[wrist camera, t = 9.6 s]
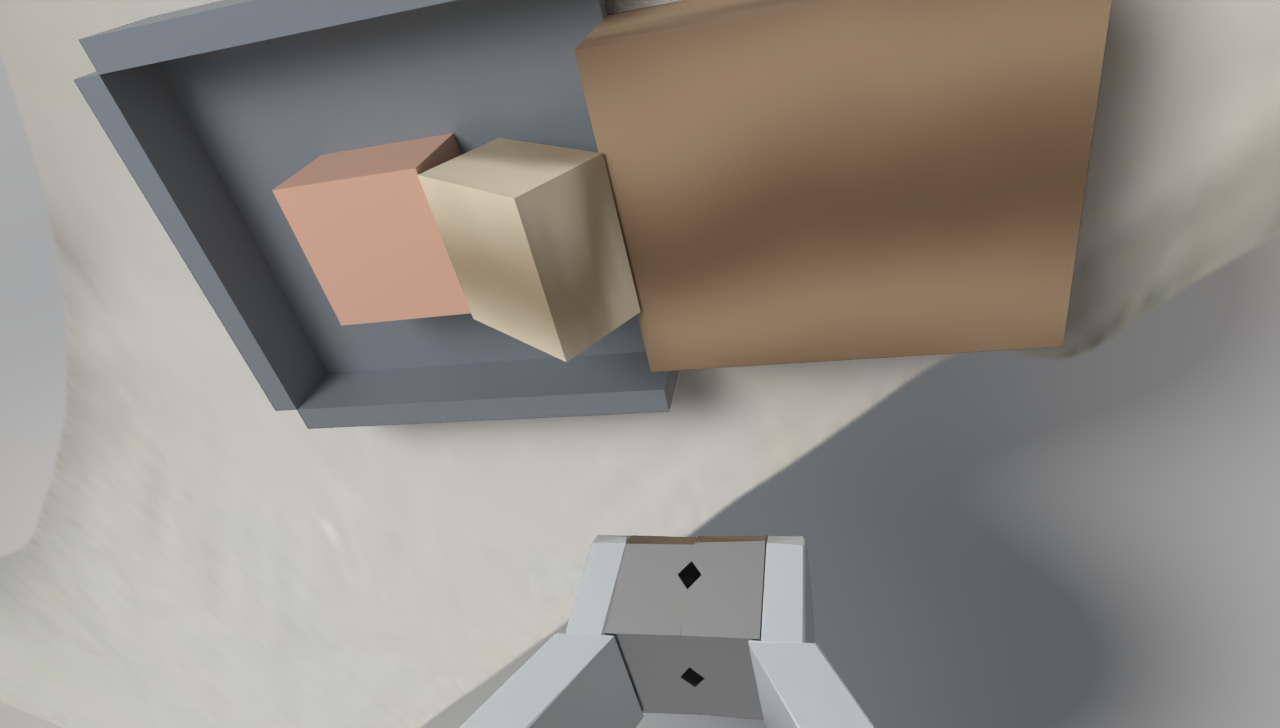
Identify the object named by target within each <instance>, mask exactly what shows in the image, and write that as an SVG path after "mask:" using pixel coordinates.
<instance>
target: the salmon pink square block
mask: <svg viewBox="0 0 1280 728" xmlns="http://www.w3.org/2000/svg"><path fill="white" fill-rule="evenodd" d="M460 155H461V153H460V150H459V147H458V144H457V142H456V139H455V136H454V133H451V134H445V135H439V136H433V137H427V138H421V139H415V140H409V141H403V142H397V143H391V144H385V145H379V146H373V147H367V148H361V149H355V150H349V151H342V152H336V153H330V154H324V155H321V156H320V157H318V158H317V159H315V160H314V161H313V162H311V163H310V164H308V165H307V166H305V167H304V168H303V169H301V170H300V171H298V172H297V173H296V174H294V175H293V176H291V177H290V178H289V179H287V180H286V181H284V182H283V183H282V184H280V185H279V186H277V187H276V188H275V189H273V190H272V191H273V193H274V195H275V197H276V199H277V201H278V203H279V205H280V207H281V209H282V211H283V213H284V215H285V217H286V218H287V220H288V222H289V224H290V226H291V228H292V230H293V232H294V234H295V236H296V238H297V240H298V242H299V244H300V246H301V248H302V250H303V252H304V254H305V256H306V257H307V259H308V261H309V263H310V265H311V267H312V269H313V271H314V273H315V275H316V277H317V279H318V281H319V283H320V285H321V287H322V289H323V291H324V293H325V295H326V296H327V298H328V300H329V302H330V304H331V306H332V308H333V310H334V312H335V314H336V316H337V318H338V320H339V322H340V324H341V326H342V325H353V324H364V323H374V322H385V321H395V320H406V319H417V318H427V317H438V316H448V315H459V314H470V313H471V311H470V309H469V306H468V304H467V301H466V299H465V296H464V293H463V291H462V288H461V286H460V283H459V281H458V278H457V275H456V273H455V270H454V268H453V265H452V263H451V260H450V257H449V255H448V252H447V250H446V247H445V245H444V242H443V239H442V237H441V234H440V232H439V229H438V227H437V224H436V221H435V219H434V216H433V214H432V211H431V209H430V206H429V203H428V201H427V198H426V196H425V193H424V191H423V188H422V185H421V183H420V180H419V178H418V174H421V173H423V172H425V171H427V170H429V169H432V168H434V167H436V166H438V165H440V164H443V163H445V162H447V161H449V160H451V159H453V158H456V157H458V156H460Z"/></svg>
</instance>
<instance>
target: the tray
mask: <svg viewBox="0 0 1280 728" xmlns="http://www.w3.org/2000/svg"><path fill="white" fill-rule="evenodd" d="M606 16H607V11H606V7H605V2H604V0H224V1H219V2H215V3H211V4H206V5H202V6H197V7H193V8H189V9H184V10H180V11H176V12H171V13H167V14H163V15H158V16H154V17H149V18H146V19H143V20H140V21H137V22H134V23H130V24H127V25H124V26H121V27H118V28H114V29H111V30H108V31H105V32H102V33H98V34H95V35H92V36H89V37H86V38H82V39H79V42H80V43H81V45H82V47H83V48H84V50H85V52H86V53H87V55H88V57H89V59H90V60H91V62H92V64H93V65H94V67H95V69H96V70H97V72H94V73H91V74H89V75H86V76H83V77H80V78H78V79H75V80H74V82H75V83H76V85H77V87H78V88H79V90H80V92H81V93H82V95H83V96H84V98H85V100H86V101H87V103H88V105H89V106H90V108H91V110H92V111H93V113H94V114H95V116H96V118H97V119H98V121H99V123H100V124H101V126H102V128H103V129H104V131H105V132H106V134H107V136H108V137H109V139H110V141H111V142H112V144H113V146H114V147H115V149H116V150H117V152H118V154H119V155H120V157H121V159H122V160H123V162H124V164H125V165H126V167H127V168H128V170H129V172H130V173H131V175H132V177H133V178H134V180H135V182H136V183H137V185H138V186H139V188H140V190H141V191H142V193H143V195H144V196H145V198H146V200H147V201H148V203H149V204H150V206H151V208H152V209H153V211H154V213H155V214H156V216H157V218H158V219H159V221H160V222H161V224H162V226H163V227H164V229H165V231H166V232H167V234H168V236H169V237H170V239H171V240H172V242H173V244H174V245H175V247H176V249H177V250H178V252H179V254H180V255H181V257H182V258H183V260H184V262H185V263H186V265H187V267H188V268H189V270H190V272H191V273H192V275H193V276H194V278H195V280H196V281H197V283H198V285H199V286H200V288H201V290H202V291H203V293H204V294H205V296H206V298H207V299H208V301H209V303H210V304H211V306H212V308H213V309H214V311H215V312H216V314H217V316H218V317H219V319H220V321H221V322H222V324H223V326H224V327H225V329H226V330H227V332H228V334H229V335H230V337H231V339H232V340H233V342H234V344H235V345H236V347H237V348H238V350H239V352H240V353H241V355H242V357H243V358H244V360H245V362H246V363H247V365H248V366H249V368H250V370H251V371H252V373H253V375H254V376H255V378H256V380H257V381H258V383H259V384H260V386H261V388H262V389H263V391H264V393H265V394H266V396H267V398H268V399H269V401H270V402H271V404H272V406H273V407H274V409H275V411H281V410H297V411H298V413H299V414H300V416H301V418H302V419H303V421H304V423H305V425H306V426H307V428H308V429H313V428H334V427H355V426H377V425H398V424H419V423H441V422H462V421H483V420H505V419H526V418H547V417H569V416H590V415H611V414H633V413H654V412H669V410H670V406H671V401H672V397H673V392H674V388H675V383H676V379H677V374H678V370H673V371H657V372H651V370H650V366H649V362H648V357H647V353H646V349H645V345H644V341H643V336H642V332H641V328H640V324H639V320H638V316H637V315H635V316H634V317H632V318H631V319H629V320H628V321H626V322H625V323H623V324H622V325H620V326H619V327H618V328H616V329H615V330H613V331H612V332H610V333H609V334H607V335H606V336H604V337H603V338H601V339H600V340H598V341H597V342H595V343H594V344H593V345H591V346H590V347H588V348H587V349H585V350H584V351H582V352H581V353H579V354H578V355H576V356H575V357H573V358H572V359H570V360H569V361H567V362H565V361H563V360H561V359H558V358H556V357H554V356H552V355H550V354H548V353H546V352H543V351H541V350H539V349H537V348H535V347H533V346H531V345H528V344H526V343H524V342H522V341H520V340H518V339H516V338H513V337H511V336H509V335H507V334H505V333H503V332H501V331H498V330H496V329H494V328H492V327H490V326H488V325H486V324H483V323H481V322H479V321H477V320H475V319H473V317H472V314H471V313H470V314H459V315H448V316H438V317H427V318H417V319H406V320H395V321H385V322H374V323H364V324H353V325H342V326H341V324H340V322H339V320H338V318H337V316H336V314H335V312H334V310H333V308H332V306H331V304H330V302H329V300H328V298H327V296H326V295H325V293H324V291H323V289H322V287H321V285H320V283H319V281H318V279H317V277H316V275H315V273H314V271H313V269H312V267H311V265H310V263H309V261H308V259H307V257H306V256H305V254H304V252H303V250H302V248H301V246H300V244H299V242H298V240H297V238H296V236H295V234H294V232H293V230H292V228H291V226H290V224H289V222H288V220H287V218H286V217H285V215H284V213H283V211H282V209H281V207H280V205H279V203H278V201H277V199H276V197H275V195H274V193H273V191H272V190H273V189H275V188H276V187H277V186H279V185H280V184H282V183H283V182H284V181H286V180H287V179H289V178H290V177H291V176H293V175H294V174H296V173H297V172H298V171H300V170H301V169H303V168H304V167H305V166H307V165H308V164H310V163H311V162H313V161H314V160H315V159H317V158H318V157H320V156H321V155H324V154H330V153H336V152H342V151H349V150H355V149H361V148H367V147H373V146H379V145H385V144H391V143H397V142H403V141H409V140H415V139H421V138H427V137H433V136H439V135H445V134H451V133H454V136H455V139H456V142H457V144H458V147H459V150H460V153H461V155H462V154H464V153H467V152H469V151H471V150H473V149H475V148H478V147H480V146H482V145H484V144H486V143H489V142H491V141H493V140H495V139H497V138H504V139H511V140H518V141H524V142H531V143H538V144H544V145H551V146H558V147H564V148H571V149H578V150H584V151H591V152H598V148H597V144H596V140H595V136H594V132H593V127H592V123H591V119H590V115H589V111H588V107H587V102H586V98H585V94H584V90H583V86H582V81H581V77H580V73H579V69H578V65H577V61H576V56H575V52H574V49H575V48H576V47H577V46H578V45H579V44H580V43H581V42H582V41H583V40H584V39H585V38H586V37H587V36H588V35H589V34H590V33H591V32H592V31H593V30H594V29H595V27H596V26H597V25H598V24H599V23H600V22H601V21H602V20H603V19H604V18H605V17H606Z"/></svg>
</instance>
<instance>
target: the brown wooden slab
mask: <svg viewBox="0 0 1280 728" xmlns="http://www.w3.org/2000/svg"><path fill="white" fill-rule="evenodd" d="M1111 2H1112V0H684V1H679V2H674V3H669V4H663V5H658V6H653V7H648V8H642V9H637V10H632V11H627V12H622V13H616V14H611V15H607V16H606V17H605V18H604V19H603V20H602V21H601V22H600V23H599V24H598V25H597V26H596V27H595V29H594V30H593V31H592V32H591V33H590V34H589V35H588V36H587V37H586V38H585V39H584V40H583V41H582V42H581V43H580V44H579V45H578V46H577V47H576V48H575V49H574V52H575V56H576V61H577V65H578V69H579V73H580V77H581V81H582V86H583V90H584V94H585V98H586V102H587V107H588V111H589V115H590V119H591V123H592V127H593V132H594V136H595V140H596V144H597V148H598V153H603V157H604V161H605V166H606V170H607V174H608V178H609V182H610V186H611V191H612V195H613V199H614V203H615V207H616V211H617V216H618V220H619V224H620V228H621V232H622V236H623V241H624V245H625V249H626V253H627V257H628V261H629V266H630V270H631V274H632V278H633V282H634V286H635V291H636V295H637V299H638V303H639V307H640V311H641V312H640V313H638V314H637V316H638V320H639V324H640V328H641V332H642V336H643V341H644V345H645V349H646V353H647V357H648V362H649V366H650V370H651V372H657V371H673V370H690V369H706V368H722V367H738V366H755V365H771V364H787V363H804V362H820V361H836V360H852V359H869V358H885V357H901V356H917V355H934V354H950V353H966V352H983V351H999V350H1015V349H1031V348H1048V347H1063V342H1064V334H1065V327H1066V320H1067V313H1068V306H1069V299H1070V292H1071V285H1072V278H1073V271H1074V264H1075V257H1076V249H1077V242H1078V235H1079V228H1080V221H1081V214H1082V207H1083V200H1084V193H1085V186H1086V179H1087V172H1088V165H1089V157H1090V150H1091V143H1092V136H1093V129H1094V122H1095V115H1096V108H1097V101H1098V94H1099V87H1100V80H1101V73H1102V65H1103V58H1104V51H1105V44H1106V37H1107V30H1108V23H1109V16H1110V9H1111Z"/></svg>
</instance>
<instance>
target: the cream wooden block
mask: <svg viewBox="0 0 1280 728" xmlns="http://www.w3.org/2000/svg"><path fill="white" fill-rule="evenodd" d="M418 178H419V180H420V183H421V185H422V188H423V191H424V193H425V196H426V198H427V201H428V203H429V206H430V209H431V211H432V214H433V216H434V219H435V221H436V224H437V227H438V229H439V232H440V234H441V237H442V239H443V242H444V245H445V247H446V250H447V252H448V255H449V257H450V260H451V263H452V265H453V268H454V270H455V273H456V275H457V278H458V281H459V283H460V286H461V288H462V291H463V293H464V296H465V299H466V301H467V304H468V306H469V309H470V311H471V314H472V317H473V319H475V320H477V321H479V322H481V323H483V324H486V325H488V326H490V327H492V328H494V329H496V330H498V331H501V332H503V333H505V334H507V335H509V336H511V337H513V338H516V339H518V340H520V341H522V342H524V343H526V344H528V345H531V346H533V347H535V348H537V349H539V350H541V351H543V352H546V353H548V354H550V355H552V356H554V357H556V358H558V359H561V360H563V361H565V362H567V361H569V360H570V359H572V358H573V357H575V356H576V355H578V354H579V353H581V352H582V351H584V350H585V349H587V348H588V347H590V346H591V345H593V344H594V343H595V342H597V341H598V340H600V339H601V338H603V337H604V336H606V335H607V334H609V333H610V332H612V331H613V330H615V329H616V328H618V327H619V326H620V325H622V324H623V323H625V322H626V321H628V320H629V319H631V318H632V317H634V316H635V315H637V314H638V313H640V312H641V311H640V307H639V303H638V299H637V295H636V291H635V286H634V282H633V278H632V274H631V270H630V266H629V261H628V257H627V253H626V249H625V245H624V241H623V236H622V232H621V228H620V224H619V220H618V216H617V211H616V207H615V203H614V199H613V195H612V191H611V186H610V182H609V178H608V174H607V170H606V166H605V161H604V157H603V153H598V152H591V151H584V150H578V149H571V148H564V147H558V146H551V145H544V144H538V143H531V142H524V141H518V140H511V139H504V138H497V139H495V140H493V141H491V142H489V143H486V144H484V145H482V146H480V147H478V148H475V149H473V150H471V151H469V152H467V153H464V154H462V155H460V156H458V157H456V158H453V159H451V160H449V161H447V162H445V163H443V164H440V165H438V166H436V167H434V168H432V169H429V170H427V171H425V172H423V173H421V174H418Z"/></svg>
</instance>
